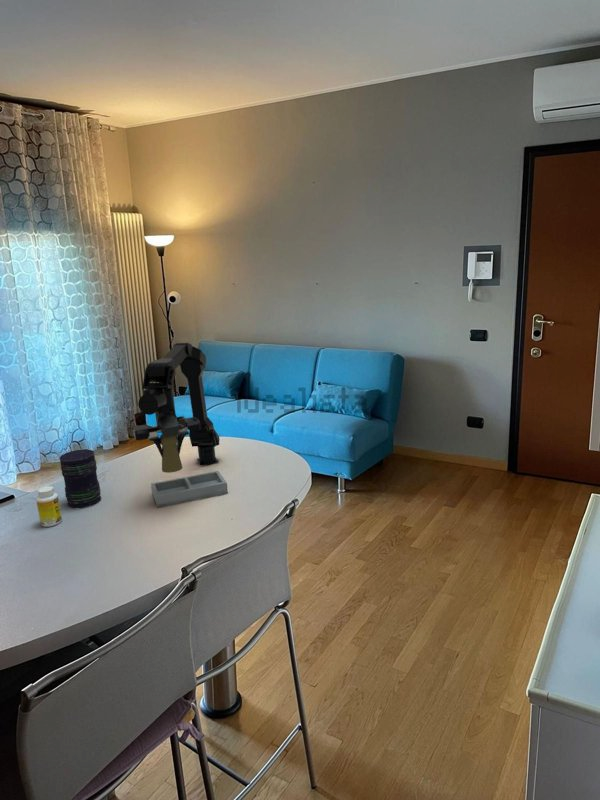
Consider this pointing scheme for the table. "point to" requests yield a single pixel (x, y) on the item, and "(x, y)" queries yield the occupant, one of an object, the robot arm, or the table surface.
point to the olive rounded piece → (170, 454)
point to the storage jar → (80, 478)
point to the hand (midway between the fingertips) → (170, 455)
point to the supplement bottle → (48, 507)
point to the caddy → (188, 488)
